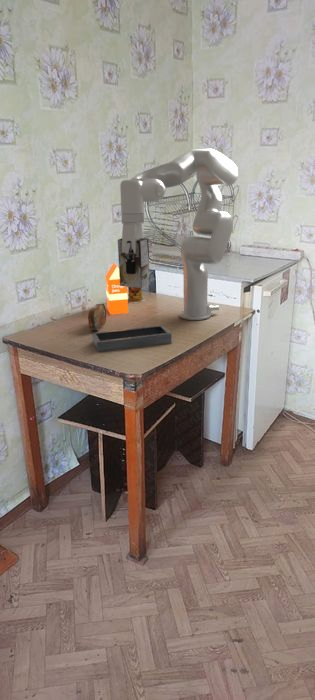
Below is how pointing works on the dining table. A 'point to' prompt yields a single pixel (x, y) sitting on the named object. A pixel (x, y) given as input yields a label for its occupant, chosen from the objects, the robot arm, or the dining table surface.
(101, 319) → the tin
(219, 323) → the dining table surface
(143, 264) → the coffee box
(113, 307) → the orange juice
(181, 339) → the dining table surface
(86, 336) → the dining table surface
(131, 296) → the condiment
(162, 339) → the dark grey tray
